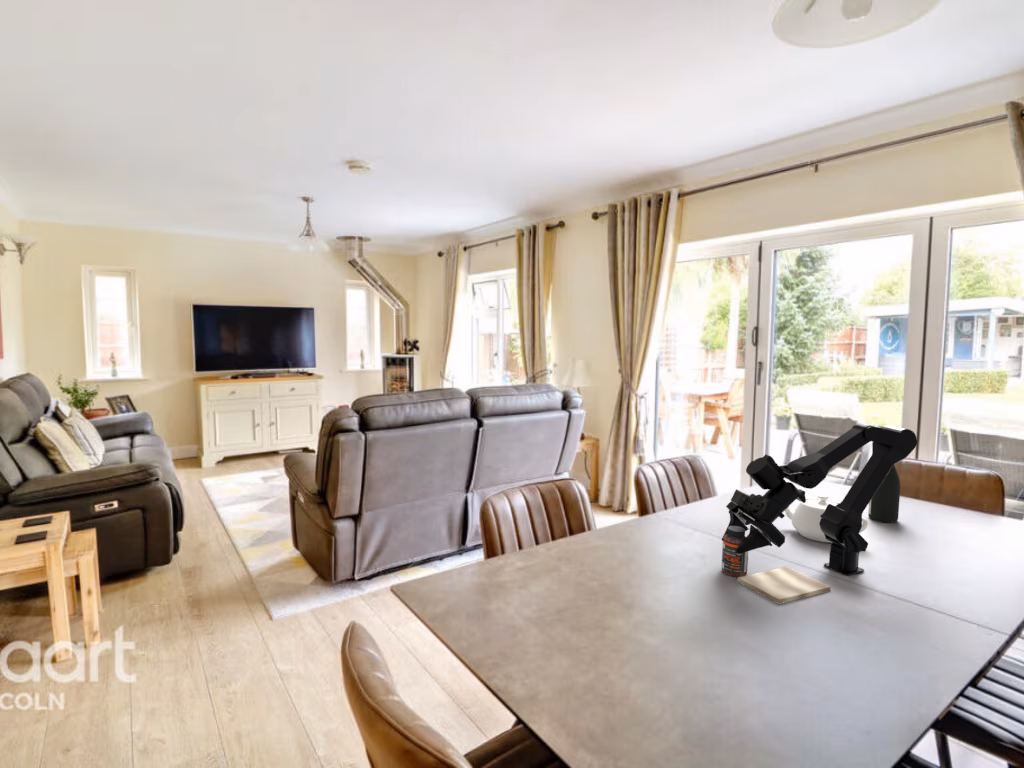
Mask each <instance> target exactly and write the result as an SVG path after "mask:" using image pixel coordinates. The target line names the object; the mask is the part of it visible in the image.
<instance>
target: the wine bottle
mask: <svg viewBox="0 0 1024 768" xmlns="http://www.w3.org/2000/svg"><path fill="white" fill-rule="evenodd" d="M900 496H901V481H900V476H899V473H898V470H897V468H896V466H895V464H894V465H893V466H892V468H891V469H890V471H889V473H888V474H887V476H886V477H885V479H884V480H883V482H882V483H881V485H880V487H879V488H878V490H877V491H876V493H875V494H874V496H873V497H872V499H871V500H870V502H869V504H868V512H867V514H868V517H869V518H870V519H872V520H873V521H876V522H879V521H880V523H889V524H890V523H891V524H892V523H896V522H897V521H898V520H899V513H900V512H899V511H900V499H901V497H900Z"/></svg>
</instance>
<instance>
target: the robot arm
mask: <svg viewBox="0 0 1024 768" xmlns="http://www.w3.org/2000/svg"><path fill="white" fill-rule="evenodd" d="M871 442H872V444H871V445H872V451H871V453H872V454H871V456H870V458H869V459H868V460H867V462H866V464H865V465H864V466H863V467H862V470H861V471H860V473H859V475H858V476H857V477H856V479H855V481H854V482H853V484H852V485H851V487H850V488H849V490H848V491H847V493H846V495H845V496H844V498H843V499H842V501H840V503H839V502H838V503H839V504H838V505H836V506H834V505H832V504H829V505H828V506H827V507H826V510H825V512H824V513H823V514H822V515H820V517H821V520H820V523H819V525H820V528H821V530H822V532H823V533H824V535H825V538H826V539H827V540H829V541H831V542H830V543H831V544H830V551H829V559H828V562H825V563H823V566H824V567H826V568H828V569H830V570H833V571H834V572H838V573H840V574H841V575H845V576H852V575H855V574H860V573H864V572H865V569H864V568H861V567H859V562H860V561H859V560H860V559H859V558H860V553H861V552H866V551H867V549H868V546H869V543H868V542H867V541H866V540H865V538H864V537H863V536H862V535H861V533H859V532H860V530H861V527H862V523H863V522H862V517H863V513H864V512H865V510H866V508H867V507H868V506H869V502H870V500H871V499H872V497H873V496H874V494H875V493H876V491H877V490H878V488H879V487H880V485H881V483H882V482H883V480H884V479H885V477H886V476H887V474H888V473H889V471H890V469H891V468H892V466H893V465H895V464H897V463H899V462H900V461H903V460H904V459H906V458H907V457H909V456H910V454H911V453H912V452H913V451H914V450H915V448H916V447H917V445H918V439H917V435H916V433H915V432H914V431H913V430H911V429H908V428H903V427H900V426H895V425H888V424H887V425H882V426H881V427H878V426H874V425H871V424H867V423H866V424H865V423H862V422H861V423H860V422H859V423H856V424H854V425H852V427H851V429H848V430H847V431H846V432H844V433H843V434H842V435H840V436H839V437H837V438H835V439H834V440H833V441H831V442H829V443H828V444H827V445H825V446H824V447H822V448H821V449H820V450H817V451H816V452H815V453H814V452H813V453H812V454H808V455H807V454H806V455H803V456H801V457H800V456H799V457H798V458H796V459H793V460H791V461H790V462H789V463H788V464H783V465H779V464H778V463H777V462H776V461H775V459H774V458H773V456H771V455H769V454H767V453H766V454H764V455H763V457H758V458H756V459H754V460H752V461H750V462H749V463H748V465H747V466H746V468H745V471H746V472H745V473H747V475H748V476H749V477H750V478H751V479H752V480H753V481H754V482H755V483H756V484H757V485H758V487H760V488H761V489H762V490H767V491H765V493H764V494H763V495H761V494H754V493H751V494H747V493H746V492H743V491H741V490H739V489H735V491H734V493H733V495H732V497H731V498H730V502H729V503H727V505H726V506H725V507H726V508H727V509H728V514H729V522H728V525H727V527H726V530H725V532H724V534H723V535H722V538H721V541H722V542H723V537H724V536H725V535H726V534H728V532H727V531H728V527H729V526H739V527H742V528H744V529H745V532H747V531H748V530H749V532H748V534H747V536H745V537H746V538H745V539H744V540H743V542H742V543H741V544H740V545H739V546H738V548H737V549H736V552H737V553H738V554H741V553H744V552H747V551H748V552H750V551H753V550H756V549H760V548H764V547H768V546H770V547H772V546H774V545H775V546H776V547H777V548H781V547H782V546H783V545H784V544H785V543H786V536H785V535H784V534H783V533H782V532H781V531H780V529H778V527H776V526H775V524H773V523H774V522H775V521H776V519H778V518H780V519H784V517H785V516H786V514H784V512H785V510H786V509H787V508H788V507H789V506H791V505H792V504H793V503H794V502H795V501H799V502H800V501H801V502H803V503H805V502H806V499H807V498H806V491H804V490H803V489H799V488H798V487H799V486H800V487H801V488H804V489H809V490H810V489H814V488H816V487H817V486H818V485H820V483H822V482H823V481H824V480H825V479H826V478H827V476H828V474H829V471H830V470H831V469H832V468H834V467H835V466H836V465H838V464H840V462H842V461H843V460H845V459H846V458H848V457H850V456H851V455H852V454H854V453H855V452H857V451H858V450H860V449H861V448H863V447H864V446H866V445H867V444H869V443H871ZM785 479H786V480H789V481H786V480H785ZM796 485H798V487H796ZM749 525H750V526H749ZM748 526H749V527H748Z"/></svg>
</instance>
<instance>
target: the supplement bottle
mask: <svg viewBox="0 0 1024 768" xmlns="http://www.w3.org/2000/svg"><path fill="white" fill-rule="evenodd" d="M727 527H728V526H727ZM727 532H728V534H726V535H725V536H724V535H723V536H724V537H723V536H722V538H723V541H722V550H721V551H722V552H721V553H722V554H721V571H722V573H724V574H725V575H727V576H730V577H733V578H734V577H736V578H738V577H741V576H746V575H748V566H749V565H748V563H749V551H747V552H744V553H741V554H738V553H737V552H736V549H737V548H738V546H739V545H740V544H741V543H742V542H743V540H744V539H745V538H746V537H747V536H746V531H745V529H744V528H742V527H739V526H729V527H728V531H727Z"/></svg>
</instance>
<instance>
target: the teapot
mask: <svg viewBox="0 0 1024 768" xmlns="http://www.w3.org/2000/svg"><path fill="white" fill-rule="evenodd" d="M817 497H818V498H806V502H805V503H803V502H801V501H799V503H798V505H797V506H796V508H795V509H794V508H793V507H792V506H791V505H790V506H789V507H788V508H787V509H786V510H785V511H784V512H785V516H786V517H787V518H788V519H789V520H790V521H791V524H792V527H793V528H794V529H795V531H797V532H798V533H799V534H800V535H801V536H802V537H804V538H807V539H809V540H813V541H817V542H820V543H821V542H822V543H832V542H831V541H829V540H827V539H826V538H825V535H824V533H823V532H822V530H821V528H820V525H819V523H820V520H821V517H820V515H822V514H823V513H824V512H825V510H826V507H827V506H828V505H829V504H832V505H834V506H836V505H838V504H839V502H837V501H832V500H828V499H829V498H830V497H829V495H826V494H818V495H817ZM868 525H869V522H868V519H867V518H865V517H864V516H862V527H861V530H860V532H859V534H861V533H863V532H864V531H865V530H866V529H867V528H868Z"/></svg>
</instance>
